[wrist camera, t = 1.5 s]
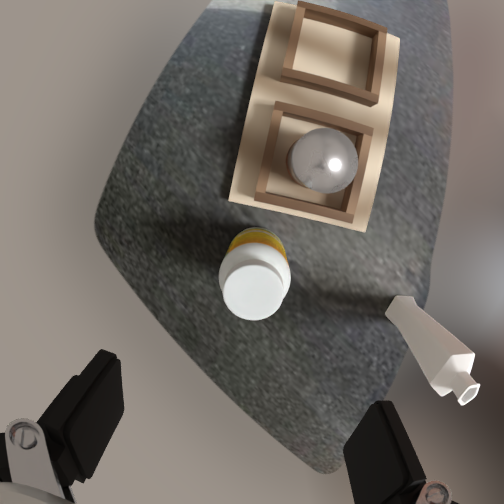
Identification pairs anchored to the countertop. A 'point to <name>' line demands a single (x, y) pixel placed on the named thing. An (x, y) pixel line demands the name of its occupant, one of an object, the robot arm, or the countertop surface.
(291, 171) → the silver cylinder
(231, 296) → the supplement bottle
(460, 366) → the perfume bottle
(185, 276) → the countertop surface
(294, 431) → the countertop surface
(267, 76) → the socket board
